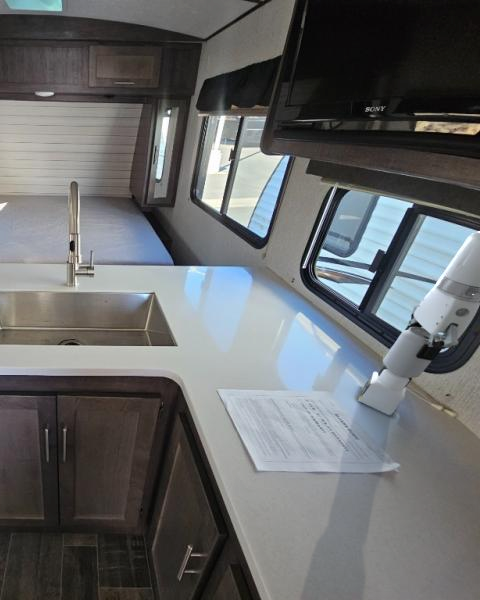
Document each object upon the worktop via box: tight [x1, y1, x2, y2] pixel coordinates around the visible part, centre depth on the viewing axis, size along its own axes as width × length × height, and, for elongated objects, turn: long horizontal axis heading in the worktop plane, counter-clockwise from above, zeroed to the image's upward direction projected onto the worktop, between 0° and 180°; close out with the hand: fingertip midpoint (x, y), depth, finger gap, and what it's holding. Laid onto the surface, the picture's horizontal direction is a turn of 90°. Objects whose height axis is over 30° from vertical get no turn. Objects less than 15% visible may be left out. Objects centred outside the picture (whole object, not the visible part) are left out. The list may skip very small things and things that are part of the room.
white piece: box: [358, 364, 413, 416], centre depth 88 cm, size 7×7×12 cm
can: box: [382, 327, 441, 379], centre depth 81 cm, size 8×8×12 cm
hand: (415, 348), depth 81 cm, fingers closed on can, 7 cm apart
